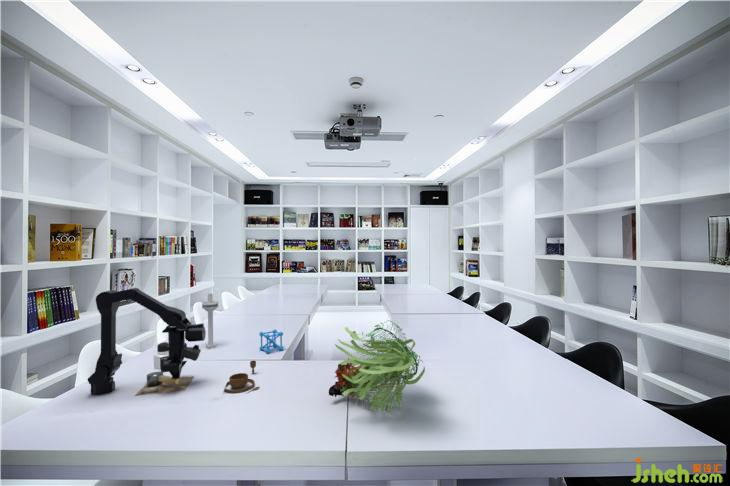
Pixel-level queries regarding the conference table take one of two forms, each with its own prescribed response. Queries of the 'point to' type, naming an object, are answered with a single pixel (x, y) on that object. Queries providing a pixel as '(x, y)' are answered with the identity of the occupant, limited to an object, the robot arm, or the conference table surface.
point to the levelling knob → (160, 379)
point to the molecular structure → (271, 341)
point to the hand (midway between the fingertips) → (177, 381)
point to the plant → (377, 369)
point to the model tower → (210, 319)
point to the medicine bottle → (161, 355)
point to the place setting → (241, 381)
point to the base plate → (166, 387)
